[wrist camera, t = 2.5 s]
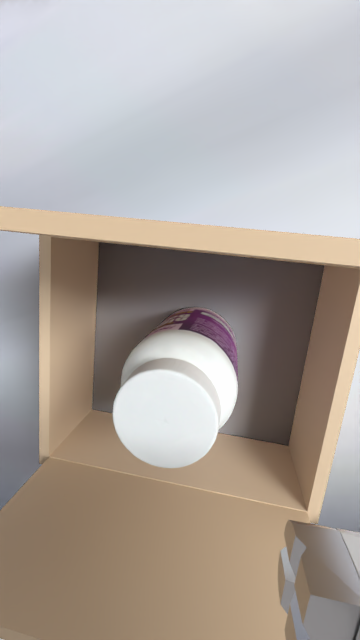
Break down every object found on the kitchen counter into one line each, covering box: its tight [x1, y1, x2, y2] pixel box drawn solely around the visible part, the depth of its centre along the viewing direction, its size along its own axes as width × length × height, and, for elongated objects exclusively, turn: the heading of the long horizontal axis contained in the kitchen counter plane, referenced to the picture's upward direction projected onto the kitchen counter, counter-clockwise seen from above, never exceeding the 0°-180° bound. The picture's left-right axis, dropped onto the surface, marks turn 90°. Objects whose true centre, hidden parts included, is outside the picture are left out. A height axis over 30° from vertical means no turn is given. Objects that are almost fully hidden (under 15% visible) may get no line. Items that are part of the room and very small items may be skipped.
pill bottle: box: [113, 307, 238, 468], centre depth 16 cm, size 5×5×10 cm
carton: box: [0, 206, 360, 640], centre depth 14 cm, size 15×13×13 cm
